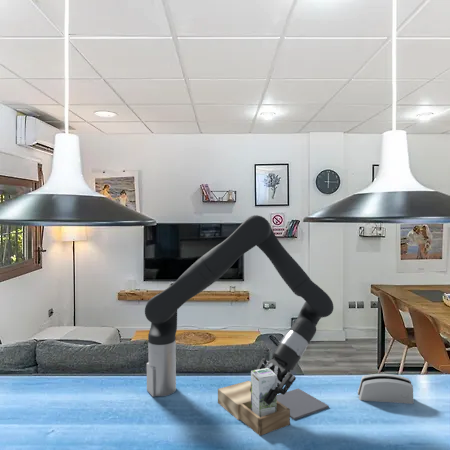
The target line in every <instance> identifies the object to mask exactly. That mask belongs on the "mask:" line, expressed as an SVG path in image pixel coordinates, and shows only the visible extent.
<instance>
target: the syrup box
mask: <svg viewBox="0 0 450 450" xmlns="http://www.w3.org/2000/svg"><path fill="white" fill-rule="evenodd" d="M276 378H277V375H276V374H275V373H274V372H273V371H272V370H270V369H269V368H265V369H258V370H256V369H252V370H251V371H250V382H251V411H253V412H254V413H255V414H257V415H258V416H259V417H263V416H266V415H268V414H271V413H274V412H277V396H276V397H275V399H274V400H273V402H272V403H271V404H270V405H268V404H267V403H266V402H265V401H264V398H265V397H266V395H267V394H268V392H269V391H270V389H272V386H273V384H274V383H275V379H276Z"/></svg>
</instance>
